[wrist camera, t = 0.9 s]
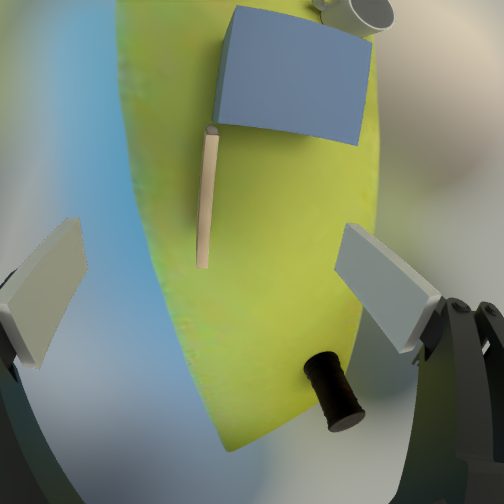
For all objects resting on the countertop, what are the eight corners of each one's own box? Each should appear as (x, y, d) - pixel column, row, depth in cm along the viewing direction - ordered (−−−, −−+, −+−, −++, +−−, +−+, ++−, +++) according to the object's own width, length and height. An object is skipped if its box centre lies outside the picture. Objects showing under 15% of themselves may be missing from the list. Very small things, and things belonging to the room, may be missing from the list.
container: (326, 374, 65) (351, 430, 49) (297, 374, 62) (320, 435, 47) (344, 351, 61) (375, 409, 46) (314, 350, 59) (343, 414, 43)
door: (214, 124, 33) (220, 127, 23) (204, 228, 39) (207, 268, 30) (204, 123, 32) (207, 126, 23) (196, 228, 39) (196, 268, 30)
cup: (356, 48, 31) (391, 40, 23) (296, 21, 28) (322, 2, 20) (364, 15, 28) (398, 3, 20) (307, -12, 25) (333, -34, 17)
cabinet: (223, 39, 28) (236, 5, 17) (321, 58, 31) (372, 42, 20) (211, 121, 33) (218, 123, 22) (310, 134, 36) (357, 146, 25)
